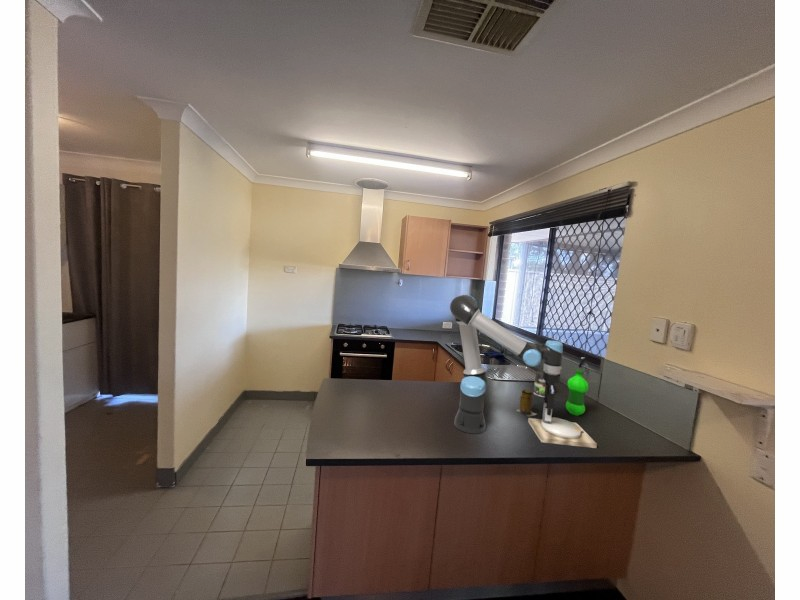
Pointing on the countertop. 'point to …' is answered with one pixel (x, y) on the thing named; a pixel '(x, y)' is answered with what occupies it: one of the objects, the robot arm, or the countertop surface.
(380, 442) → the countertop surface
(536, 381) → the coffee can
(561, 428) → the dial
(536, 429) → the dial panel
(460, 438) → the countertop surface
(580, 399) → the plastic bottle
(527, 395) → the condiment
